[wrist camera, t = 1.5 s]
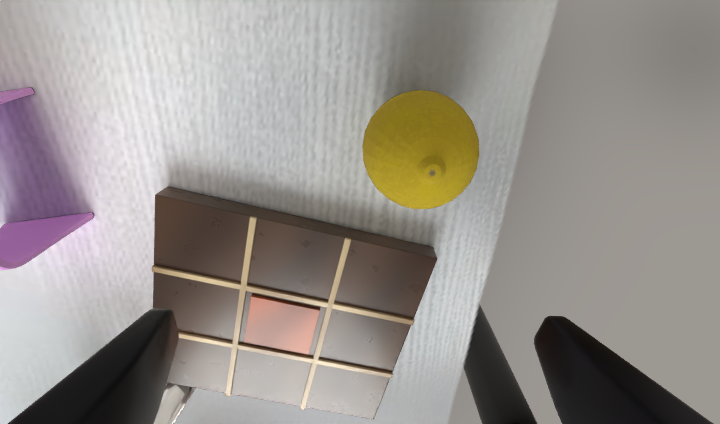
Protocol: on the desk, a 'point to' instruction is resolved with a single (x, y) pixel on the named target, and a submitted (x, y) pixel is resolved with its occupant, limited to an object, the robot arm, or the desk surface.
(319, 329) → the board
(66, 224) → the toy chair
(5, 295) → the desk surface
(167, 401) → the tablet stand
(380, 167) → the lemon
